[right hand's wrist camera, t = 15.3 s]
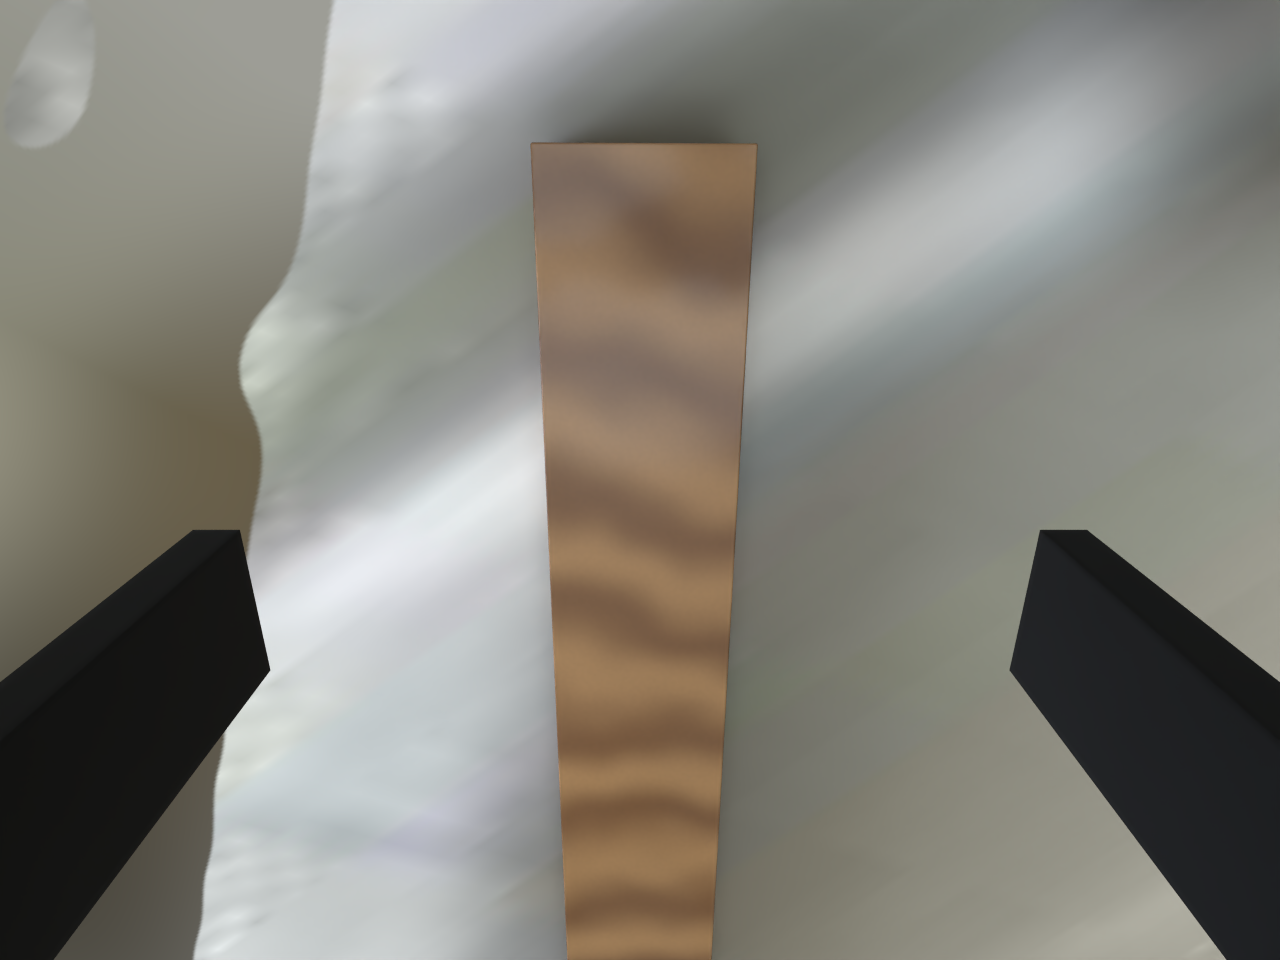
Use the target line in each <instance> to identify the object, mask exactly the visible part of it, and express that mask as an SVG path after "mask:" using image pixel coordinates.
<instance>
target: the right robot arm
mask: <svg viewBox="0 0 1280 960" xmlns="http://www.w3.org/2000/svg"><path fill="white" fill-rule="evenodd" d="M269 671H270V666H269V662H268V657H267V652H266V648H265V643H264V639H263V634H262V629H261V625H260V620H259V616H258V611H257V607H256V602H255V597H254V593H253V588H252V584H251V579H250V574H249V570H248V565H247V561H246V556H245V552H244V547H243V543H242V538H241V533H240V530H192V531H191V532H190V533H189V534H187V535H186V536H185V537H184V538H182V539H181V540H180V541H179V542H177V543H176V544H175V545H173V546H172V547H171V548H170V549H168V550H167V551H166V552H165V553H163V554H162V555H161V556H160V557H158V558H157V559H156V560H154V561H153V562H152V563H151V564H149V565H148V566H147V567H146V568H144V569H143V570H142V571H141V572H139V573H138V574H137V575H135V576H134V577H133V578H132V579H130V580H129V581H128V582H127V583H125V584H124V585H123V586H122V587H120V588H119V589H118V590H116V591H115V592H114V593H113V594H111V595H110V596H109V597H108V598H106V599H105V600H104V601H102V602H101V603H100V604H99V605H97V606H96V607H95V608H94V609H92V610H91V611H90V612H89V613H87V614H86V615H85V616H83V617H82V618H81V619H80V620H78V621H77V622H76V623H75V624H73V625H72V626H71V627H70V628H68V629H67V630H66V631H65V632H63V633H62V634H61V635H59V636H58V637H57V638H56V639H54V640H53V641H52V642H51V643H49V644H48V645H47V646H46V647H44V648H43V649H42V650H40V651H39V652H38V653H37V654H35V655H34V656H33V657H32V658H30V659H29V660H28V661H27V662H25V663H24V664H23V665H21V666H20V667H19V668H18V669H16V670H15V671H14V672H13V673H11V674H10V675H9V676H8V677H6V678H5V679H4V680H2V681H1V682H0V960H54V958H55V957H56V956H57V954H58V953H59V952H60V950H61V949H62V948H63V946H64V945H65V944H66V942H67V941H68V940H69V938H70V937H71V936H72V934H73V933H74V932H75V930H76V929H77V928H78V926H79V925H80V924H81V922H82V921H83V920H84V918H85V917H86V916H87V914H88V913H89V912H90V910H91V909H92V908H93V906H94V905H95V904H96V902H97V901H98V900H99V898H100V897H101V896H102V894H103V893H104V892H105V890H106V889H107V888H108V886H109V885H110V884H111V882H112V881H113V880H114V878H115V877H116V876H117V874H118V873H119V872H120V870H121V869H122V868H123V866H124V865H125V864H126V862H127V861H128V860H129V858H130V857H131V856H132V854H133V853H134V852H135V850H136V849H137V848H138V846H139V845H140V844H141V842H142V841H143V840H144V838H145V837H146V836H147V834H148V833H149V832H150V830H151V829H152V828H153V826H154V825H155V823H156V822H157V821H158V820H159V818H160V817H161V816H162V814H163V813H164V811H165V810H166V809H167V808H168V806H169V805H170V804H171V802H172V801H173V800H174V798H175V797H176V796H177V794H178V793H179V792H180V790H181V789H182V788H183V786H184V785H185V783H186V782H187V781H188V779H189V778H190V777H191V775H192V774H193V773H194V772H195V770H196V769H197V768H198V766H199V765H200V763H201V762H202V761H203V759H204V758H205V757H206V756H207V754H208V753H209V752H210V750H211V749H212V747H213V746H214V745H215V744H216V742H217V741H218V740H219V738H220V737H221V736H222V734H223V733H224V732H225V730H226V729H227V727H228V726H229V725H230V723H231V722H232V721H233V719H234V718H235V717H236V715H237V714H238V713H239V711H240V710H241V709H242V707H243V706H244V705H245V703H246V702H247V701H248V699H249V698H250V697H251V695H252V694H253V693H254V691H255V690H256V689H257V687H258V686H259V685H260V683H261V682H262V681H263V679H264V678H265V677H266V675H267V674H268V673H269ZM1010 671H1011V673H1012V674H1013V675H1014V677H1015V678H1016V679H1017V681H1018V682H1019V683H1020V685H1021V686H1022V687H1023V689H1024V690H1025V691H1026V693H1027V694H1028V695H1029V697H1030V698H1031V699H1032V701H1033V702H1034V703H1035V705H1036V706H1037V707H1038V709H1039V710H1040V711H1041V713H1042V714H1043V715H1044V717H1045V718H1046V719H1047V721H1048V722H1049V723H1050V725H1051V726H1052V727H1053V729H1054V730H1055V732H1056V733H1057V734H1058V736H1059V737H1060V738H1061V740H1062V741H1063V742H1064V744H1065V745H1066V746H1067V748H1068V749H1069V750H1070V752H1071V753H1072V754H1073V756H1074V757H1075V758H1076V760H1077V761H1078V762H1079V764H1080V765H1081V766H1082V768H1083V769H1084V770H1085V772H1086V773H1087V774H1088V776H1089V777H1090V778H1091V780H1092V781H1093V782H1094V784H1095V785H1096V786H1097V788H1098V789H1099V790H1100V792H1101V793H1102V794H1103V796H1104V797H1105V798H1106V800H1107V801H1108V802H1109V804H1110V805H1111V806H1112V808H1113V809H1114V810H1115V812H1116V813H1117V814H1118V816H1119V817H1120V818H1121V820H1122V821H1123V822H1124V824H1125V825H1126V826H1127V828H1128V829H1129V830H1130V832H1131V833H1132V834H1133V836H1134V837H1135V838H1136V840H1137V841H1138V842H1139V844H1140V845H1141V846H1142V848H1143V849H1144V850H1145V852H1146V853H1147V854H1148V856H1149V857H1150V858H1151V860H1152V861H1153V862H1154V864H1155V865H1156V866H1157V868H1158V869H1159V870H1160V872H1161V873H1162V874H1163V876H1164V877H1165V878H1166V880H1167V881H1168V882H1169V884H1170V885H1171V886H1172V888H1173V889H1174V890H1175V892H1176V893H1177V894H1178V896H1179V897H1180V898H1181V900H1182V901H1183V902H1184V904H1185V905H1186V906H1187V908H1188V909H1189V910H1190V912H1191V913H1192V914H1193V916H1194V917H1195V918H1196V920H1197V921H1198V922H1199V924H1200V925H1201V926H1202V928H1203V929H1204V930H1205V932H1206V933H1207V934H1208V936H1209V937H1210V938H1211V940H1212V941H1213V942H1214V944H1215V945H1216V946H1217V948H1218V949H1219V950H1220V952H1221V953H1222V954H1223V956H1224V957H1225V958H1226V960H1280V682H1279V681H1278V680H1276V679H1275V678H1274V677H1273V676H1271V675H1270V674H1269V673H1267V672H1266V671H1265V670H1264V669H1262V668H1261V667H1260V666H1259V665H1257V664H1256V663H1255V662H1254V661H1252V660H1251V659H1250V658H1248V657H1247V656H1246V655H1245V654H1243V653H1242V652H1241V651H1240V650H1238V649H1237V648H1236V647H1235V646H1233V645H1232V644H1231V643H1229V642H1228V641H1227V640H1226V639H1224V638H1223V637H1222V636H1221V635H1219V634H1218V633H1217V632H1216V631H1214V630H1213V629H1212V628H1210V627H1209V626H1208V625H1207V624H1205V623H1204V622H1203V621H1202V620H1200V619H1199V618H1198V617H1197V616H1195V615H1194V614H1193V613H1191V612H1190V611H1189V610H1188V609H1186V608H1185V607H1184V606H1183V605H1181V604H1180V603H1179V602H1178V601H1176V600H1175V599H1174V598H1172V597H1171V596H1170V595H1169V594H1167V593H1166V592H1165V591H1164V590H1162V589H1161V588H1160V587H1159V586H1157V585H1156V584H1155V583H1153V582H1152V581H1151V580H1150V579H1148V578H1147V577H1146V576H1145V575H1143V574H1142V573H1141V572H1140V571H1138V570H1137V569H1136V568H1134V567H1133V566H1132V565H1131V564H1129V563H1128V562H1127V561H1126V560H1124V559H1123V558H1122V557H1121V556H1119V555H1118V554H1117V553H1115V552H1114V551H1113V550H1112V549H1110V548H1109V547H1108V546H1107V545H1105V544H1104V543H1103V542H1102V541H1100V540H1099V539H1098V538H1096V537H1095V536H1094V535H1093V534H1091V533H1090V532H1089V531H1088V530H1040V533H1039V538H1038V542H1037V547H1036V552H1035V556H1034V561H1033V565H1032V570H1031V574H1030V579H1029V584H1028V588H1027V593H1026V597H1025V602H1024V607H1023V611H1022V616H1021V620H1020V625H1019V629H1018V634H1017V639H1016V643H1015V648H1014V652H1013V657H1012V662H1011V666H1010Z"/></svg>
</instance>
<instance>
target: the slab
mask: <svg viewBox="0 0 1280 960" xmlns="http://www.w3.org/2000/svg"><path fill="white" fill-rule="evenodd" d="M757 149H758V145H757V144H750V143H539V142H532V143H531V164H532V186H533V208H534V231H535V253H536V275H537V297H538V319H539V341H540V363H541V385H542V407H543V429H544V451H545V473H546V496H547V518H548V540H549V562H550V584H551V606H552V628H553V650H554V672H555V694H556V716H557V739H558V761H559V783H560V805H561V827H562V849H563V871H564V893H565V915H566V937H567V959H568V960H711V957H712V939H713V922H714V904H715V886H716V869H717V851H718V834H719V816H720V799H721V781H722V764H723V746H724V728H725V711H726V693H727V676H728V658H729V641H730V623H731V606H732V588H733V570H734V553H735V535H736V518H737V500H738V483H739V465H740V447H741V430H742V412H743V395H744V377H745V360H746V342H747V325H748V307H749V289H750V272H751V254H752V237H753V219H754V202H755V184H756V167H757Z"/></svg>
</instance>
